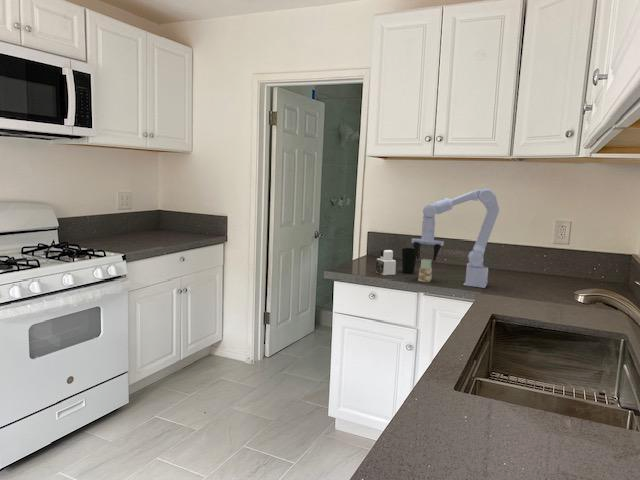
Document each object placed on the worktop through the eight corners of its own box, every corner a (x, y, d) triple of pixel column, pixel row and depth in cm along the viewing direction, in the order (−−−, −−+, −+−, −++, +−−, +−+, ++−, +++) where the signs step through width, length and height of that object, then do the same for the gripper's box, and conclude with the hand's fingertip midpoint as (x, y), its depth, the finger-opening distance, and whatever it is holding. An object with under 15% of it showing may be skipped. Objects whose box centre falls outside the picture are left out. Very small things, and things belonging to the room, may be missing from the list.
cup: (409, 274, 235) (410, 250, 233) (397, 272, 241) (398, 248, 239) (419, 273, 240) (420, 249, 238) (407, 270, 245) (408, 247, 244)
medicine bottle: (375, 272, 238) (376, 248, 236) (387, 271, 240) (389, 248, 239) (382, 275, 231) (384, 251, 229) (395, 274, 234) (397, 250, 232)
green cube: (431, 268, 224) (431, 259, 223) (429, 269, 220) (429, 260, 219) (422, 267, 225) (423, 258, 225) (420, 268, 222) (421, 260, 221)
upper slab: (431, 274, 224) (432, 267, 224) (429, 276, 220) (430, 269, 219) (421, 272, 226) (421, 266, 226) (418, 274, 222) (419, 268, 221)
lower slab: (431, 280, 225) (431, 274, 224) (429, 282, 220) (429, 276, 220) (420, 279, 227) (421, 272, 226) (418, 281, 222) (418, 274, 222)
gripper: (445, 231, 221) (443, 259, 223) (414, 228, 227) (413, 256, 229) (442, 232, 214) (440, 262, 216) (411, 229, 221) (409, 258, 222)
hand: (426, 259), depth 222 cm, fingers open, 7 cm apart
